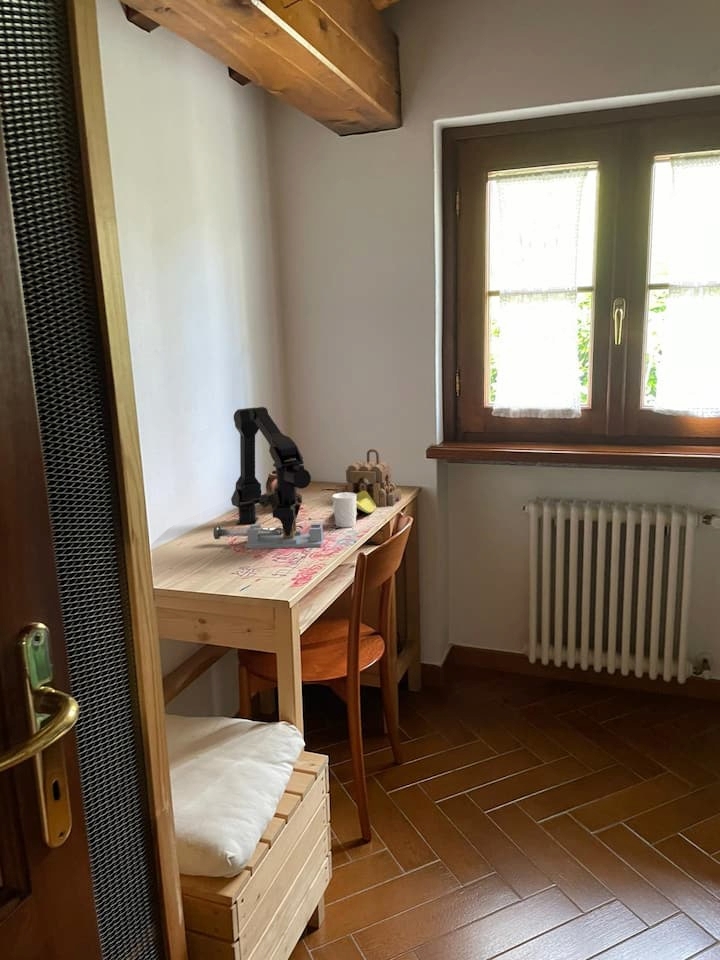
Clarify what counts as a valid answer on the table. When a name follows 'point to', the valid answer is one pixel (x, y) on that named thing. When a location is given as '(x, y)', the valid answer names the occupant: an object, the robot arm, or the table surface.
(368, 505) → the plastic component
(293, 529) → the frame
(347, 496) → the white cup
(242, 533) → the shaft
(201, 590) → the table surface
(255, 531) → the rail
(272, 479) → the decorative planter
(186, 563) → the table surface
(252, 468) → the robot arm
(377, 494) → the tan backpack
